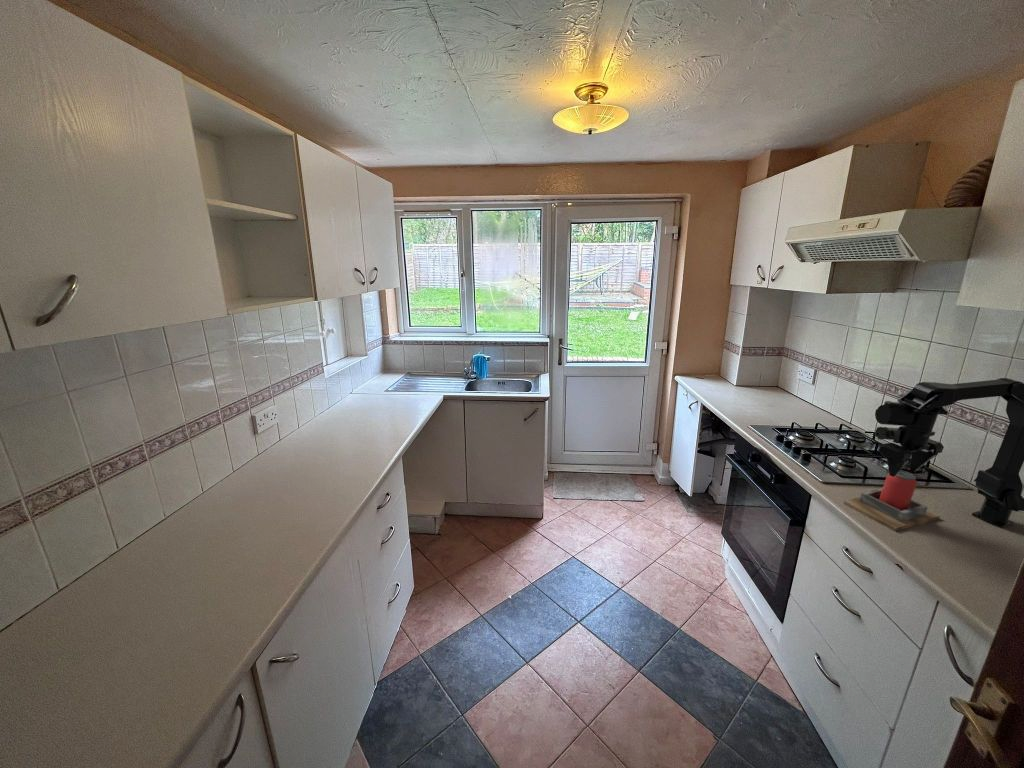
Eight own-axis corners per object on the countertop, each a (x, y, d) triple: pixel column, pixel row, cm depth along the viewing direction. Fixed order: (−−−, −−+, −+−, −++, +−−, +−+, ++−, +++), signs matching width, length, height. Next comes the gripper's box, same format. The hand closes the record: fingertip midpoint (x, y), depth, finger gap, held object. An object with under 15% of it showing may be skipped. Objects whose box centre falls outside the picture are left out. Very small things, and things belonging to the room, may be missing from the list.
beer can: (891, 501, 126) (903, 468, 122) (912, 514, 120) (925, 479, 116) (871, 502, 126) (882, 468, 122) (891, 514, 119) (903, 480, 116)
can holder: (885, 493, 132) (889, 482, 131) (939, 518, 120) (943, 507, 118) (843, 503, 126) (846, 492, 125) (895, 531, 114) (899, 519, 113)
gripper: (906, 412, 125) (891, 457, 129) (865, 419, 119) (851, 465, 124) (952, 426, 114) (934, 474, 119) (910, 434, 109) (893, 483, 114)
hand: (901, 473), depth 119 cm, fingers open, 9 cm apart
